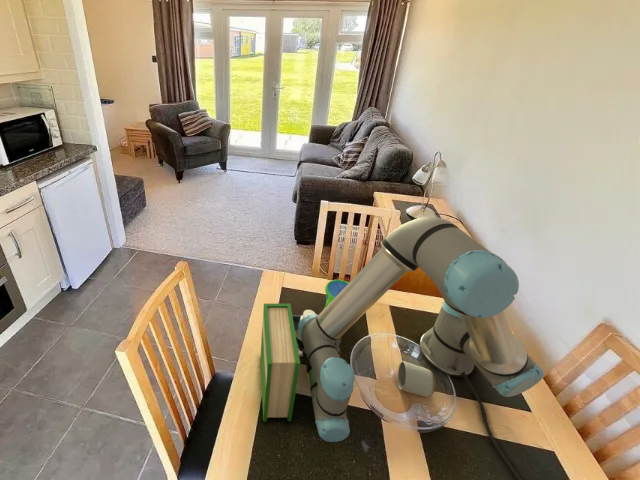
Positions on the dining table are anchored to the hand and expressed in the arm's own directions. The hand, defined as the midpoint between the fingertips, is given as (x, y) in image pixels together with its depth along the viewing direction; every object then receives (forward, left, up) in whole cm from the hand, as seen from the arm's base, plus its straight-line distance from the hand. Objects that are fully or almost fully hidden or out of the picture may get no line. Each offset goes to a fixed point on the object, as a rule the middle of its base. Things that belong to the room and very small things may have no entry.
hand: (306, 310), depth 106 cm
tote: (-3, +2, -8) cm, 9 cm away
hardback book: (-12, +21, -8) cm, 25 cm away
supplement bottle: (-3, +2, -8) cm, 8 cm away
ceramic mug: (-31, -15, -8) cm, 35 cm away
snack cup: (0, -15, -8) cm, 17 cm away
